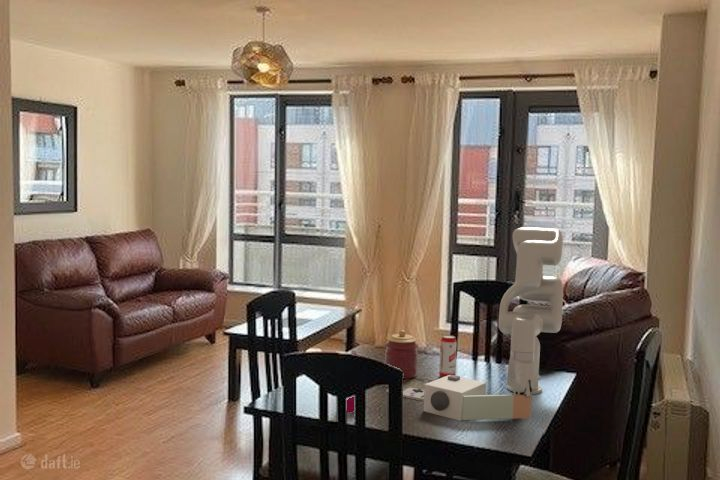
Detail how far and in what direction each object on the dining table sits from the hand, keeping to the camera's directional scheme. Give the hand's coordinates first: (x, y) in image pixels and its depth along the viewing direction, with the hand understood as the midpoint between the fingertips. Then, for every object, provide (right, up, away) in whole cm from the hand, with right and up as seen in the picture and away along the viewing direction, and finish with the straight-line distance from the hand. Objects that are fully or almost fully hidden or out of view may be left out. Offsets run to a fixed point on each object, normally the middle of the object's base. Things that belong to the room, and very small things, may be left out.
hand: (519, 410), depth 227 cm
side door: (-9, -1, -5) cm, 10 cm away
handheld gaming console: (-30, 0, +19) cm, 35 cm away
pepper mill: (-54, 0, +1) cm, 55 cm away
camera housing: (-21, -1, +4) cm, 21 cm away
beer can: (-18, +2, +45) cm, 48 cm away
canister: (-36, +3, +46) cm, 59 cm away
